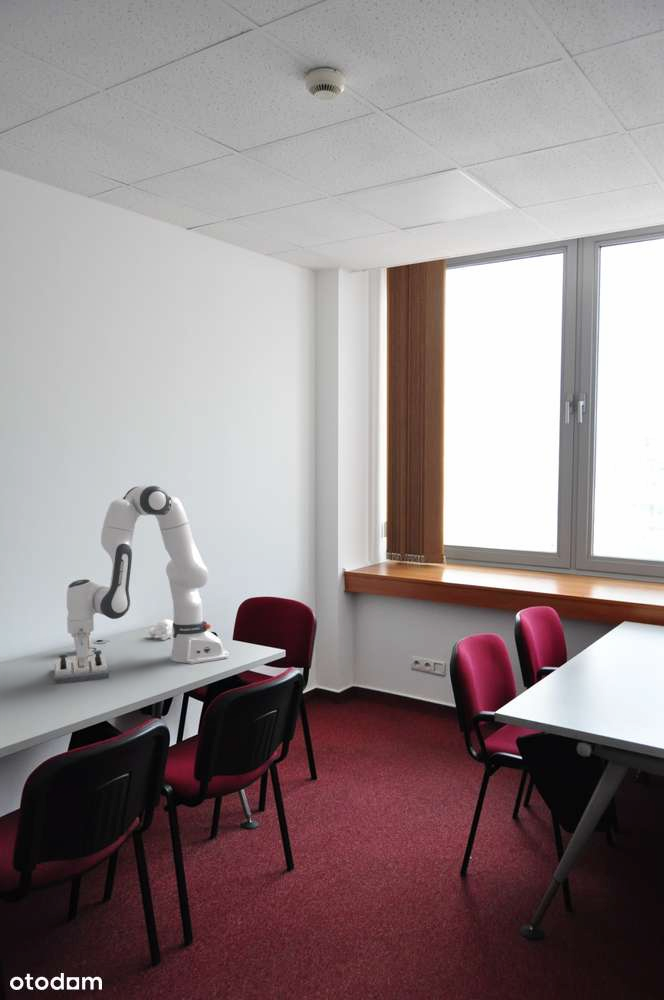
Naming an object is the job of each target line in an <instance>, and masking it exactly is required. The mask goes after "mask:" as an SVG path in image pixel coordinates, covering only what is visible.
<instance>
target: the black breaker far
mask: <svg viewBox="0 0 664 1000" xmlns="http://www.w3.org/2000/svg"><path fill="white" fill-rule="evenodd" d="M66 658H67V653H59V659H60V660H61V668H64V667H65V660H66Z"/></svg>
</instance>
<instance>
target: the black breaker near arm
mask: <svg viewBox="0 0 664 1000" xmlns="http://www.w3.org/2000/svg"><path fill="white" fill-rule="evenodd" d="M93 654H94V655H95V657H96V664H100V656H101V654H102V650H101V649H98V650H94V651H93Z"/></svg>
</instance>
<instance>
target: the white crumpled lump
mask: <svg viewBox="0 0 664 1000" xmlns="http://www.w3.org/2000/svg"><path fill="white" fill-rule="evenodd" d="M173 622H174V620H171V619H168V618H167V619H162V620H160V621H159V622H157V624H156V625H155V626H153V627H151V628H149V629H148V635H149V636H150V637H151V638H152V639H153V638H156V637H160V638H162V639H161V640H162V641H167V639H172V638H173V633H172V626H173ZM163 635H165V636H163Z"/></svg>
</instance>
